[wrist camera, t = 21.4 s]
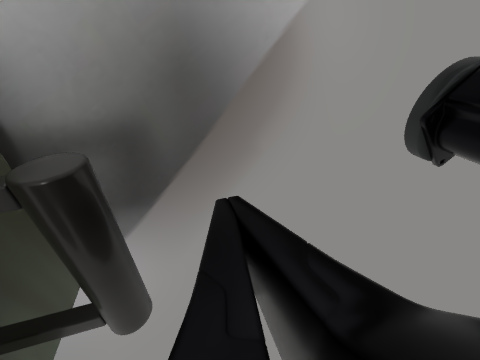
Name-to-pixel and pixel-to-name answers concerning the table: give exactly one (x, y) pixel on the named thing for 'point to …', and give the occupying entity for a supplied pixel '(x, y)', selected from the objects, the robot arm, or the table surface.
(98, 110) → the table surface
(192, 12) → the table surface
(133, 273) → the drawer
